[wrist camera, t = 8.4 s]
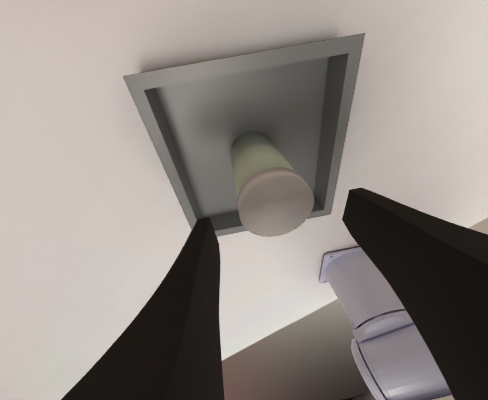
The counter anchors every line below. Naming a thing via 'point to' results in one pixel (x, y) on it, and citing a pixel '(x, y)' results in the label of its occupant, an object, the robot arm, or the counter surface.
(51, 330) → the counter surface
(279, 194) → the shaker
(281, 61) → the tray
